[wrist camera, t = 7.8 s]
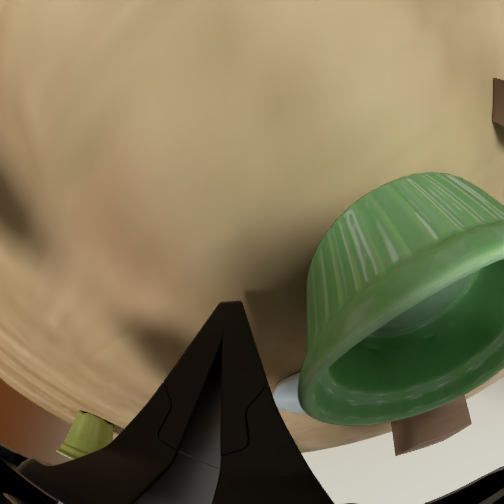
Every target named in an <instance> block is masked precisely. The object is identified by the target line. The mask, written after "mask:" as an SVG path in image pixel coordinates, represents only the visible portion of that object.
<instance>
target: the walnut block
mask: <svg viewBox="0 0 504 504" xmlns="http://www.w3.org/2000/svg"><path fill="white" fill-rule="evenodd" d="M470 424H471V419H470V415H469V411H468V407H467V403H466V399H465V396H464V395H463V396H461V397H459V398H457V399H455V400H453V401H451V402H449V403H447V404H445V405H442V406H440V407H437V408H435V409H432V410H430V411H427V412H425V413H422V414H418V415H415V416H412V417H408V418H404V419H400V420H396V421H392V422H391V426H392V432H393V439H394V447H395V455H396V456H397V455H401V454H404V453H408V452H411V451H415V450H418V449H421V448H424V447H427V446H430V445H433V444H436V443H438V442H441V441H444V440H446V439H447V438H449V437H451V436H452V435H454V434H456V433H457V432H459V431H461V430H462V429H464V428H466V427H467V426H469V425H470Z"/></svg>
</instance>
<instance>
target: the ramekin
mask: <svg viewBox="0 0 504 504" xmlns="http://www.w3.org/2000/svg"><path fill="white" fill-rule="evenodd" d="M503 368H504V206H503V205H502V204H501V203H499V202H498V201H497V200H495V199H494V198H493V197H491V196H490V195H489V194H487V193H486V192H485V191H483V190H482V189H480V188H478V187H477V186H475V185H474V184H472V183H470V182H468V181H466V180H465V179H463V178H460V177H457V176H453V175H450V174H445V173H435V172H430V173H423V174H413V175H410V176H407V177H402V178H400V179H397V180H394V181H392V182H389V183H387V184H385V185H383V186H381V187H379V188H377V189H375V190H373V191H371V192H370V193H368V194H366V195H365V196H363V197H362V198H360V199H359V200H358V201H356V202H355V203H354V204H352V205H351V206H350V207H349V208H348V209H347V210H346V211H345V212H344V213H343V214H342V215H341V216H340V217H339V218H338V219H337V220H336V221H335V223H334V224H333V226H332V227H331V228H330V229H329V230H328V231H327V233H326V235H325V236H324V238H323V239H322V241H321V242H320V244H319V246H318V248H317V250H316V252H315V254H314V257H313V259H312V262H311V265H310V268H309V271H308V277H307V287H306V358H305V360H304V362H303V364H302V367H301V371H300V376H299V382H298V400H299V403H300V406H301V408H302V409H303V410H304V412H305V413H307V414H308V415H309V416H311V417H313V418H314V419H317V420H319V421H322V422H325V423H330V424H336V425H345V426H361V425H375V424H381V423H386V422H392V421H396V420H400V419H404V418H408V417H412V416H415V415H418V414H422V413H425V412H427V411H430V410H432V409H435V408H437V407H440V406H442V405H445V404H447V403H449V402H451V401H453V400H455V399H457V398H459V397H461V396H463V395H465V394H467V393H468V392H470V391H472V390H474V389H475V388H477V387H478V386H480V385H482V384H483V383H485V382H486V381H487V380H489V379H490V378H492V377H493V376H494V375H496V374H497V373H498V372H499V371H501V370H502V369H503Z"/></svg>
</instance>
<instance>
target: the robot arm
mask: <svg viewBox="0 0 504 504" xmlns="http://www.w3.org/2000/svg"><path fill="white" fill-rule="evenodd" d="M0 504H334V503H333V501H332V500H331V498H330V497H329V496H328V494H327V493H326V491H325V490H324V489H323V488H322V486H321V484H320V483H319V481H318V480H317V479H316V477H315V476H314V474H313V473H312V471H311V469H310V468H309V466H308V465H307V463H306V461H305V459H304V458H303V456H302V454H301V452H300V451H299V449H298V447H297V445H296V444H295V442H294V440H293V438H292V436H291V435H290V433H289V431H288V429H287V427H286V425H285V423H284V421H283V419H282V417H281V415H280V413H279V411H278V408H277V406H276V403H275V401H274V398H273V395H272V392H271V389H270V387H269V384H268V381H267V378H266V375H265V372H264V369H263V366H262V363H261V360H260V356H259V353H258V350H257V347H256V344H255V341H254V338H253V335H252V331H251V328H250V325H249V322H248V319H247V316H246V312H245V309H244V306H243V303H242V301H232V302H221V303H219V304H218V306H217V307H216V309H215V310H214V311H213V313H212V314H211V316H210V317H209V318H208V320H207V321H206V323H205V324H204V325H203V327H202V328H201V330H200V331H199V332H198V334H197V335H196V337H195V338H194V339H193V341H192V342H191V344H190V345H189V346H188V348H187V349H186V351H185V352H184V353H183V355H182V356H181V358H180V359H179V360H178V362H177V363H176V365H175V366H174V367H173V369H172V370H171V372H170V373H169V374H168V376H167V377H166V379H165V380H164V383H162V384H161V386H160V387H159V388H158V390H157V391H156V392H155V394H154V395H153V396H152V398H151V399H150V400H149V402H148V403H147V404H146V405H145V406H144V408H143V409H142V410H141V411H140V412H139V413H138V415H137V416H136V417H135V418H134V419H133V420H132V421H131V422H130V423H129V424H128V425H127V426H126V428H125V429H124V430H123V431H122V432H121V433H120V434H119V435H118V436H117V437H116V438H115V439H114V440H113V441H112V442H111V443H109V444H108V445H107V446H105V447H103V448H101V449H99V450H97V451H94V452H92V453H89V454H87V455H84V456H81V457H79V458H76V459H73V460H71V461H67V462H65V463H62V464H58V465H52V464H50V463H48V462H45V461H43V460H40V459H38V458H35V457H31V458H29V457H27V456H25V455H23V454H21V453H19V452H17V451H15V450H13V449H12V448H9V447H8V446H6V445H4V444H2V443H1V442H0ZM348 504H355V503H348ZM425 504H504V466H503V467H500V468H498V469H496V470H494V471H493V472H490V473H488V474H486V475H484V476H482V477H480V478H478V479H477V480H475V481H473V482H471V483H469V484H467V485H465V486H463V487H461V488H459V489H457V490H455V491H453V492H451V493H449V494H446V495H444V496H442V497H439V498H437V499H435V500H432V501H430V502H427V503H425Z"/></svg>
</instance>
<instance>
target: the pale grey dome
mask: <svg viewBox="0 0 504 504" xmlns="http://www.w3.org/2000/svg"><path fill="white" fill-rule="evenodd" d="M299 376H300V373H297V374H294V375H292V376H289V377H287V378H285V379H283V380H282V381H280V382H279V383H278V384H277V385H276V386H275V387H274V390H273V398H274V401H275V403H276V406H277V407H278V408H280V409H282V410H285V411H288V412H293V413H300V414H307V413H305V412H304V410H303V409H302V408H301V406H300V403H299V400H298V382H299Z"/></svg>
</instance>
